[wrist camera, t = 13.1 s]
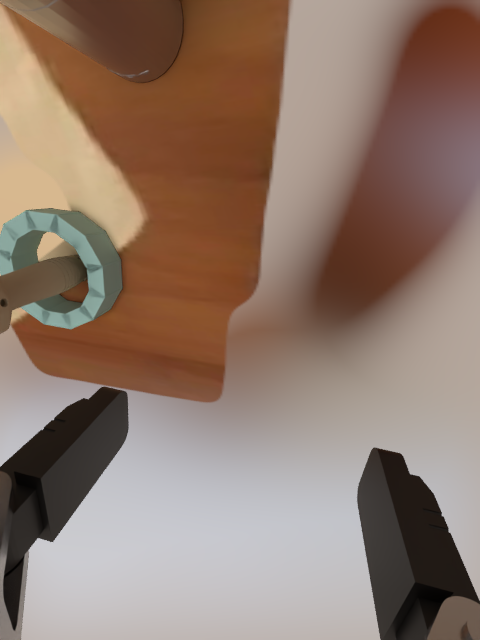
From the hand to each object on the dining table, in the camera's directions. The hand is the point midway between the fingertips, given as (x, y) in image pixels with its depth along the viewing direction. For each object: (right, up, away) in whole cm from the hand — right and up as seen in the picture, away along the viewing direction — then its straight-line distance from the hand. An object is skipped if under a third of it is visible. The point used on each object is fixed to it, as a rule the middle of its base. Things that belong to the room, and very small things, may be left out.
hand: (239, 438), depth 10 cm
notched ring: (-22, +11, +31) cm, 40 cm away
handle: (-20, +11, +31) cm, 39 cm away
